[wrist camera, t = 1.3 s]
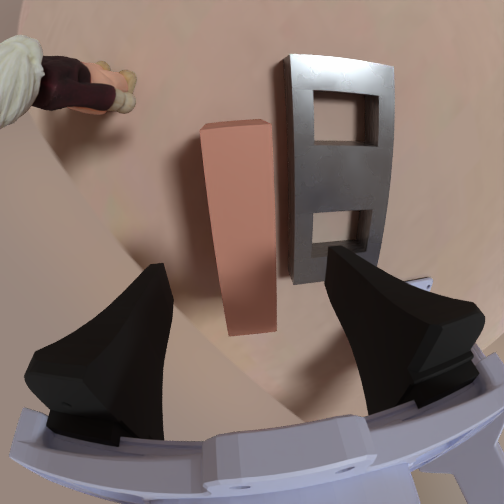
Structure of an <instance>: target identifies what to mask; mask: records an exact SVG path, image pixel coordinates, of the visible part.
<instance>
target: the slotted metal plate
mask: <svg viewBox="0 0 504 504" xmlns="http://www.w3.org/2000/svg"><path fill="white" fill-rule="evenodd" d="M283 63H284V80H285V98H286V121H287V150H288V204H289V254H288V271H289V273H290V276H291V279H292V282H293V285H297V284H305V283H313V282H321V281H325V274H326V265H327V254H328V246H338V245H341V246H343V247H345V248H347V249H349V250H350V251H352V252H354V253H355V254H357V255H358V256H360V257H362V258H363V259H365V260H366V261H368V262H370V263H371V264H373V265H374V266H376V267H377V264H378V259H379V254H380V248H381V243H382V237H383V232H384V225H385V219H386V212H387V205H388V197H389V189H390V180H391V169H392V157H393V142H394V114H395V90H394V67H392V66H387V65H382V64H377V63H372V62H366V61H360V60H353V59H346V58H337V57H328V56H316V55H299V54H290V55H288V56H287V57H285V58H284V59H283ZM313 91H321V92H337V93H349V94H359V95H365V142H358V141H314V106H313ZM350 210H360V213H359V222H358V231H357V238H356V240H346V241H335V242H325V243H315V244H312V231H313V213H319V212H334V211H350Z"/></svg>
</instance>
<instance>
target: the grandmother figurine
mask: <svg viewBox="0 0 504 504" xmlns="http://www.w3.org/2000/svg"><path fill="white" fill-rule="evenodd" d="M135 84H136V75H135V73H133V72H131V71H128V70H122V71H120V72H119V73H118V72H112V71H110V66H109V65H108V64H107V63H105V62H103V61H99V62H97V63H95V64H94V63H84V62H80V61H79V60H77V59H73V58H68V57H64V56H43V50H42V47H41V45H40V43H39V41H38V40H36V39H33V38H30V37H28V36H24V35H16V36H14V37H11V38H9V39H7V40H5V41H3V42H2V43H0V129H1V128H3V127H5V126H7V125H10V124H12V123H14V122H15V121H16V120H17V119H18V118H19V117H21V116H22V115H23V114H25V113H26V112H27V111H28V110H29V108H30V107H31V106H34V107H37V108H40V109H44V110H50V111H53V110H57V109H62V108H65V107H67V108H70V109H72V110H76V111H79V112H83V113H87V114H100V115H102V114H105V113H106V111H117V112H119V113H122V114H126V113H129V112H131V111H132V110H133V109H134V107H135V105H136V98H135V96H134V95H133V90H134V87H135Z"/></svg>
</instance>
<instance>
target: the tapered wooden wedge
mask: <svg viewBox="0 0 504 504" xmlns="http://www.w3.org/2000/svg"><path fill="white" fill-rule="evenodd" d="M200 138H201V148H202V157H203V165H204V174H205V182H206V190H207V198H208V206H209V213H210V221H211V228H212V235H213V242H214V249H215V256H216V262H217V269H218V275H219V282H220V288H221V294H222V300H223V306H224V312H225V318H226V324H227V329H228V335H229V336H239V335H249V334H258V333H267V332H275V331H277V293H276V233H275V197H274V168H273V144H272V124H270V123H268V122H266V121H263V120H261V119H253V120H239V121H227V122H217V123H208V124H205V125H204V126H203V127H202V128H201V129H200Z"/></svg>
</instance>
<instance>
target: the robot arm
mask: <svg viewBox="0 0 504 504" xmlns="http://www.w3.org/2000/svg"><path fill="white" fill-rule="evenodd" d="M432 283H433V279H432V278H431V277H428V278H423V279H418V280H413V281H408V282H404V281H402V280H400V279H398V278H396V277H394V276H392V275H390V274H388V273H387V272H385V271H383V270H381V269H379V268H378V267H376V266H374V265H373V264H371V263H370V262H368V261H366V260H365V259H363V258H362V257H360V256H358V255H357V254H355V253H354V252H352V251H350V250H349V249H347V248H345V247H343V246H341V245H338V246H328V254H327V265H326V274H325V283H324V284H325V287H326V290H327V294H328V297H329V299H330V302H331V304H332V307H333V309H334V311H335V313H336V315H337V317H338V319H339V321H340V323H341V325H342V327H343V329H344V331H345V334H346V336H347V338H348V340H349V342H350V345H351V347H352V351H353V354H354V357H355V360H356V363H357V367H358V370H359V374H360V378H361V381H362V386H363V390H364V394H365V399H366V404H367V410H368V415H369V416H366V417H361V416H356V415H352V414H350V415H343V416H336V417H331V418H326V419H322V420H317V421H312V422H307V423H301V424H295V425H290V426H283V427H276V428H268V429H260V430H250V431H238V432H232V433H225V434H219V435H216V436H214V437H211V438H209V439H207V440H206V441H164V432H163V413H162V383H163V382H162V381H163V367H164V359H165V354H166V348H167V343H168V338H169V333H170V328H171V323H172V317H173V302H174V299H173V295H172V292H171V289H170V285H169V282H168V278H167V274H166V271H165V267H164V263H158V264H150V265H149V266H148V267H147V268H146V269H145V270H144V271H143V272H142V273H141V274H140V275H139V276H138V277H137V278H136V279H135V280H134V281H133V283H132V284H130V286H129V287H128V288H127V289H126V290H125V291H124V292H123V293H122V294H121V295H120V296H118V298H116V299H115V300H114V301H113V302H112V303H111V304H110V305H109V306H108V307H107V308H106V309H104V310H103V311H102V312H101V313H100V314H98V315H97V316H96V317H95V318H93V319H92V320H91V321H89V322H88V323H86V324H85V325H83V326H82V327H80V328H79V329H77V330H76V331H74V332H73V333H71V334H69V335H68V336H66V337H64V338H62V339H61V340H59V341H57V342H55V343H53V344H51V345H48V346H46V347H44V348H42V349H40V350H38V351H36V352H35V353H34V355H33V357H32V359H31V361H30V364H29V366H28V368H27V370H26V373H25V375H24V378H25V382H26V384H27V386H28V387H29V389H30V390H31V391H32V392H33V393H34V394H35V395H36V396H37V397H38V398H39V399H40V400H41V401H42V402H43V403H44V404H45V405H46V406H47V407H48V408H49V409H50V413H49V416H47V415H46V414H44V413H41V412H38V411H35V410H32V409H28V408H23V410H22V413H21V416H20V419H19V422H18V425H17V428H16V431H15V435H14V438H13V442H12V446H11V450H10V454H9V457H10V458H11V459H12V460H14V461H16V462H17V463H19V464H21V465H22V466H24V467H25V468H27V469H29V470H31V471H32V472H34V473H36V474H38V475H39V476H41V477H43V478H45V479H47V480H49V481H52V482H55V483H57V484H60V485H62V486H65V487H68V488H70V489H73V490H76V491H79V492H82V493H85V494H88V495H91V496H95V497H98V498H102V499H105V500H109V501H113V502H117V503H121V504H421V503H420V500H419V497H418V494H417V490H416V487H415V484H414V481H413V478H412V475H411V473H410V472H411V471H413V470H416V469H419V471H421V472H429V473H449V474H453V475H454V477H455V479H456V481H457V483H458V485H459V487H460V489H461V491H462V493H463V495H464V497H465V500H466V502H467V504H504V452H503V451H502V448H501V446H500V444H499V442H498V439H499V437H500V434H501V432H502V430H503V428H504V364H503V362H502V361H501V359H500V358H499V357H498V355H497V354H496V353H495V352H494V353H492V354H490V355H489V356H487V357H486V356H485V355H484V354H483V352H482V351H481V349H480V348H479V347H478V345H477V344H476V343H475V342H476V340H477V339H478V337H479V335H480V334H481V332H482V330H483V327H484V324H485V316H484V314H483V313H482V312H481V311H480V309H479V308H478V307H477V306H476V304H475V303H473V302H469V301H463V300H458V299H453V298H449V297H445V296H441V295H438V294H435V293H432V292H429V291H430V289H431V286H432Z"/></svg>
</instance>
